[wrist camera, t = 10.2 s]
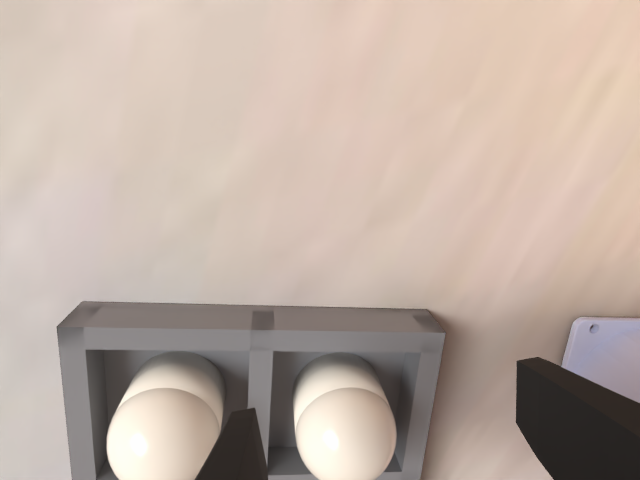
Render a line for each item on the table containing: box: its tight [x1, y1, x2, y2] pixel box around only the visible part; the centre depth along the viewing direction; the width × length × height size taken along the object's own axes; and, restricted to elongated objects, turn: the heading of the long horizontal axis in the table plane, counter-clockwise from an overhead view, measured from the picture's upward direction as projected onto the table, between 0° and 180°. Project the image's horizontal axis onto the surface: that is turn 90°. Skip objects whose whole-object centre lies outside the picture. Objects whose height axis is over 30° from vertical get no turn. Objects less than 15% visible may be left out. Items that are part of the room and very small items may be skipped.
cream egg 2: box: [292, 352, 397, 480], centre depth 19 cm, size 4×4×5 cm
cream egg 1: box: [107, 351, 226, 480], centre depth 18 cm, size 4×4×5 cm
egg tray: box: [57, 302, 446, 480], centre depth 21 cm, size 16×16×2 cm
